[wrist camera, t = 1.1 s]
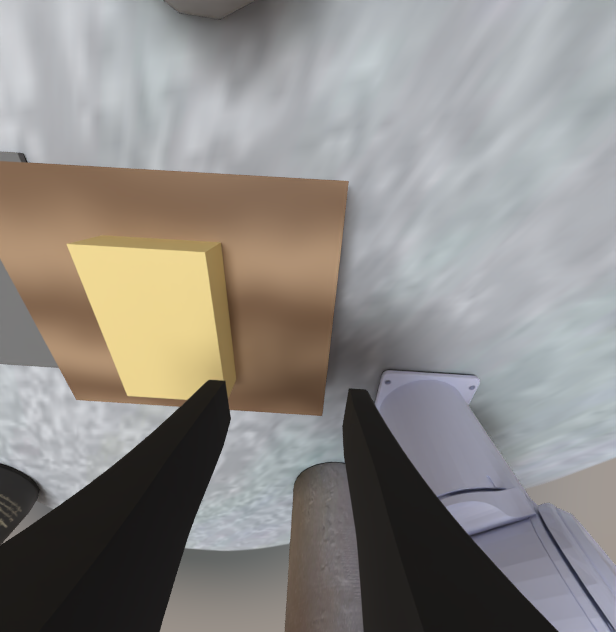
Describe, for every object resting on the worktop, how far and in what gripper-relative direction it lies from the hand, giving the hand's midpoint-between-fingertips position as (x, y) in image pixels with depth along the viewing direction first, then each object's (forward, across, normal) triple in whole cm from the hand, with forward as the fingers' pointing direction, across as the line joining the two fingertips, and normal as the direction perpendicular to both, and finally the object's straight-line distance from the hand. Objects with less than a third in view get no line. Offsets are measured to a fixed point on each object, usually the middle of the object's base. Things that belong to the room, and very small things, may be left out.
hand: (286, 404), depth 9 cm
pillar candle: (+10, -5, +24) cm, 27 cm away
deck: (+10, +7, 0) cm, 12 cm away
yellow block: (+6, +7, 0) cm, 9 cm away
